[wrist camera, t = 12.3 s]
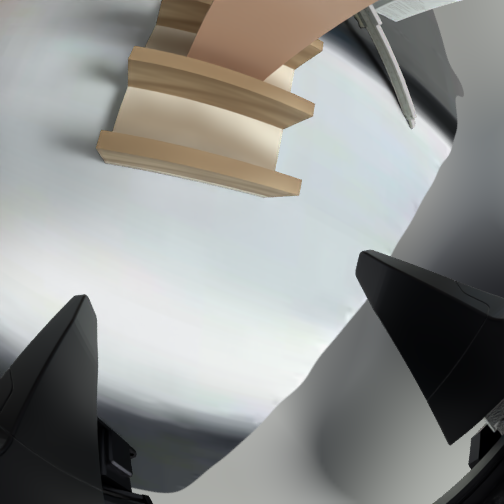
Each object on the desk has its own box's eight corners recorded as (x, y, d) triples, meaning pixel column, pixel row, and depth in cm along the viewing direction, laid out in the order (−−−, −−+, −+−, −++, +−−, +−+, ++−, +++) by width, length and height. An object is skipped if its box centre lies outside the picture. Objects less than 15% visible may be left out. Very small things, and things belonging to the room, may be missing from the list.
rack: (263, 197, 21) (299, 195, 17) (105, 163, 16) (95, 147, 12) (298, 26, 20) (328, 2, 16) (180, -15, 15) (194, -50, 11)
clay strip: (250, 91, 19) (392, -7, 6) (181, 70, 16) (266, -80, 4) (257, 66, 18) (387, -33, 6) (190, 45, 16) (277, -95, 3)
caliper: (317, -8, 21) (350, -33, 15) (322, -9, 21) (355, -33, 15) (409, 129, 28) (450, 123, 22) (412, 126, 28) (453, 119, 22)
